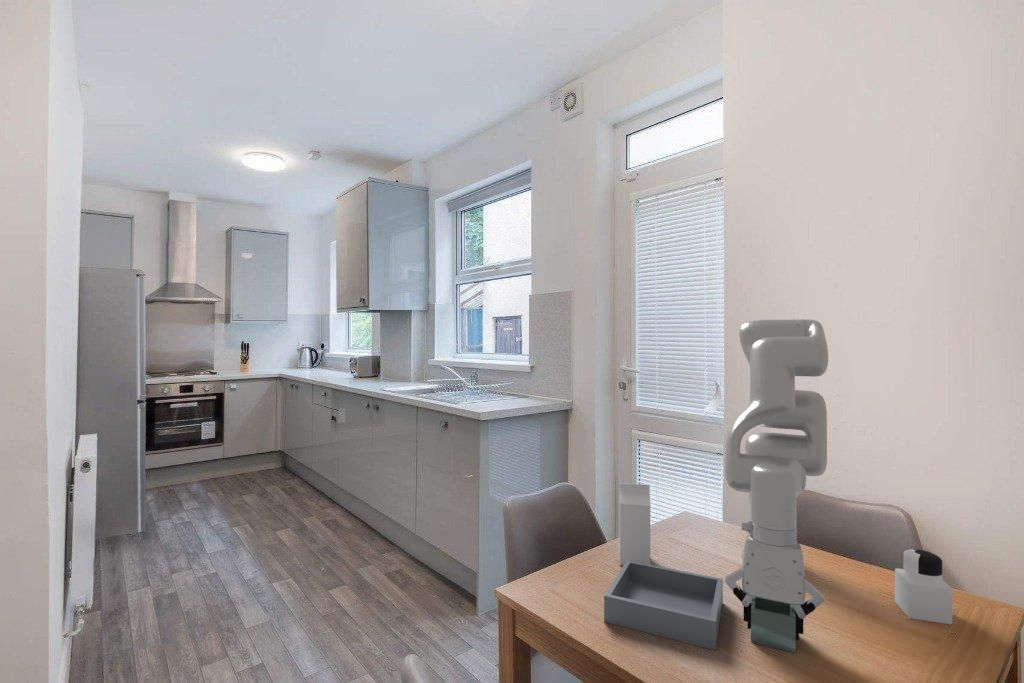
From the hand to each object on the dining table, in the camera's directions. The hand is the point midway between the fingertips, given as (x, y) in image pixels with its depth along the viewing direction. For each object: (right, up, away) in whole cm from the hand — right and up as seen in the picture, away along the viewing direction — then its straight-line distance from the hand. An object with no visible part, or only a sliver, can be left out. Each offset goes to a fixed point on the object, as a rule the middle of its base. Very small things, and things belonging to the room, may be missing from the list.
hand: (772, 630), depth 92 cm
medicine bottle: (+34, -2, +9) cm, 36 cm away
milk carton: (-17, -2, +32) cm, 37 cm away
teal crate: (0, -1, 0) cm, 1 cm away
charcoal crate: (-17, -1, +9) cm, 19 cm away
